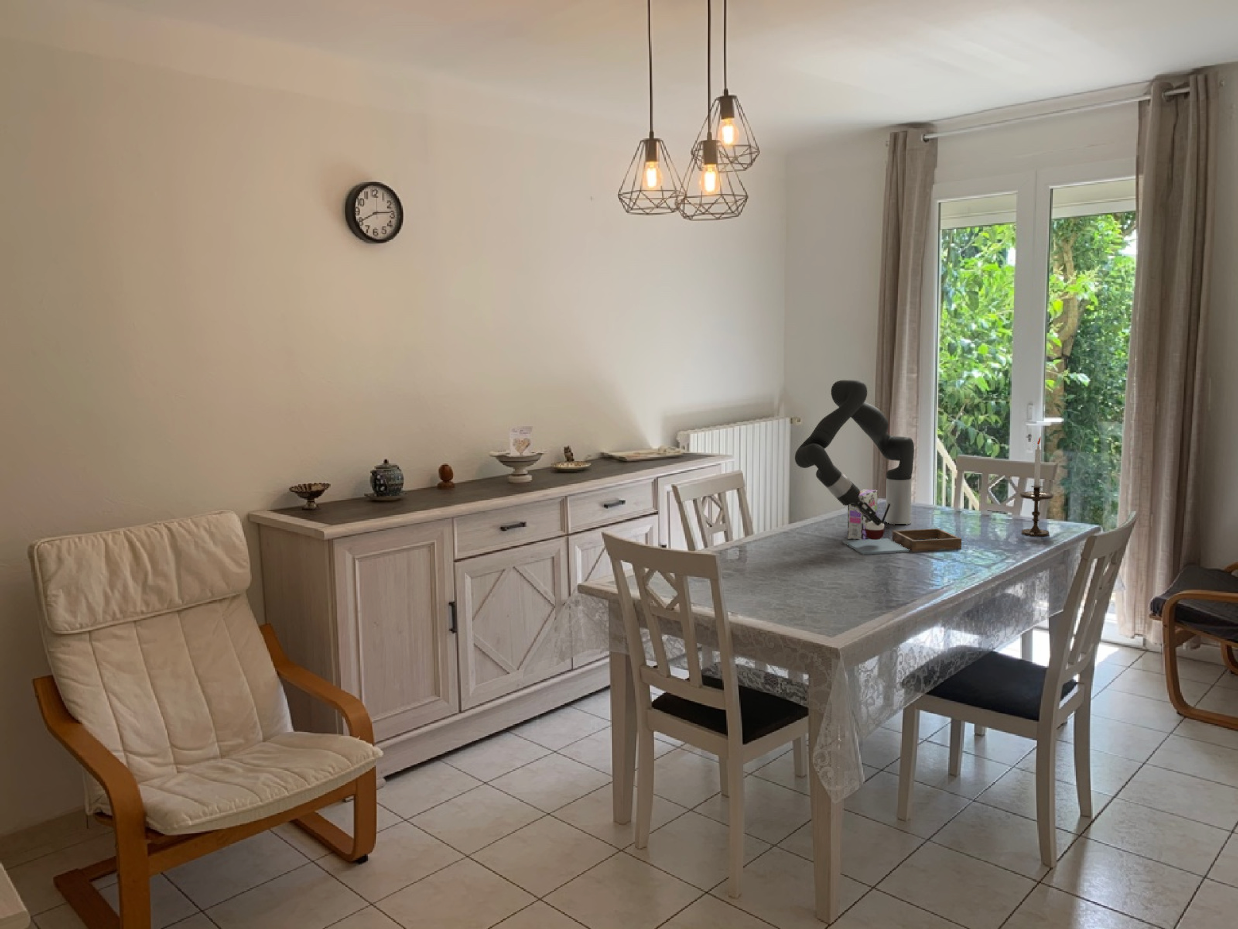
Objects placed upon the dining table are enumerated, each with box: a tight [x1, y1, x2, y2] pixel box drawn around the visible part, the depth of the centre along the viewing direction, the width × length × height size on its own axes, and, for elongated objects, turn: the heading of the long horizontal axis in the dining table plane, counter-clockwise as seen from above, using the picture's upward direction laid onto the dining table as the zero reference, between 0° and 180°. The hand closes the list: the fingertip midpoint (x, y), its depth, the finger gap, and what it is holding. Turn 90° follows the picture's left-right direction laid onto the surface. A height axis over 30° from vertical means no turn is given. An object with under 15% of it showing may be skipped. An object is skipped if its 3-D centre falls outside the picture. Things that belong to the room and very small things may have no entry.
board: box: [843, 537, 910, 556], centre depth 317 cm, size 18×16×1 cm
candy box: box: [847, 488, 878, 540], centre depth 333 cm, size 14×6×16 cm, turn 143°
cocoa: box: [861, 503, 890, 540], centre depth 315 cm, size 10×6×12 cm, turn 62°
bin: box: [891, 527, 963, 552], centre depth 318 cm, size 17×17×4 cm
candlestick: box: [1019, 436, 1054, 537], centre depth 328 cm, size 11×11×35 cm
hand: (875, 521), depth 315 cm, fingers closed on cocoa, 6 cm apart
